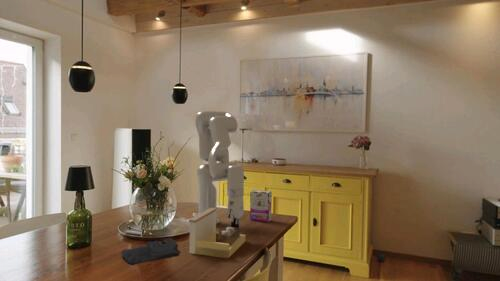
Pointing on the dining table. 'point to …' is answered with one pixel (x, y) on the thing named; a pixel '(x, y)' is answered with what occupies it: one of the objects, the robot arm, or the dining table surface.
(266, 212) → the candy bar box
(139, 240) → the dining table surface
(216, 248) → the counter shelf
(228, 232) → the caddy
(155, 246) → the dark slate chunk
